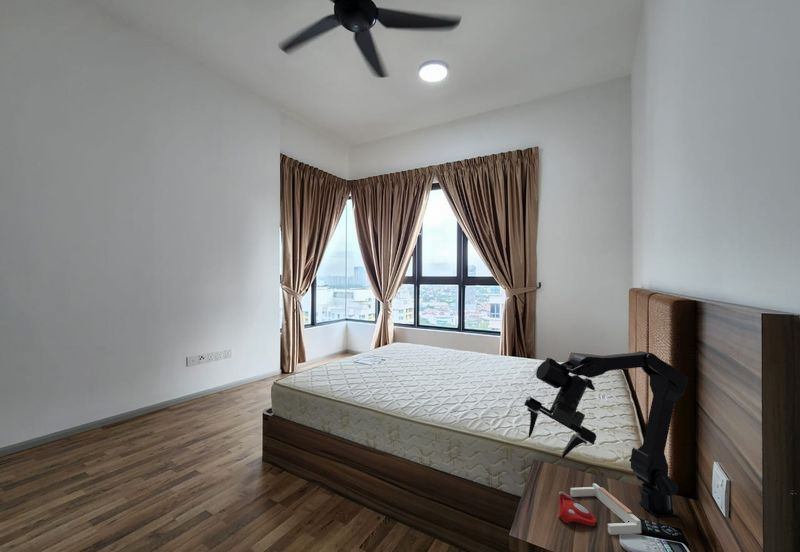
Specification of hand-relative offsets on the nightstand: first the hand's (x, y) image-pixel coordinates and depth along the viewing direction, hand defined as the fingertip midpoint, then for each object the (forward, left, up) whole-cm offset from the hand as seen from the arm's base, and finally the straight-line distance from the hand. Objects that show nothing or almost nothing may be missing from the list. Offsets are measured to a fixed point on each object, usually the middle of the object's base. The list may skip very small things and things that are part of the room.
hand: (545, 447), depth 95 cm
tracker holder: (-7, 0, -18) cm, 20 cm away
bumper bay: (-15, 0, -18) cm, 24 cm away
